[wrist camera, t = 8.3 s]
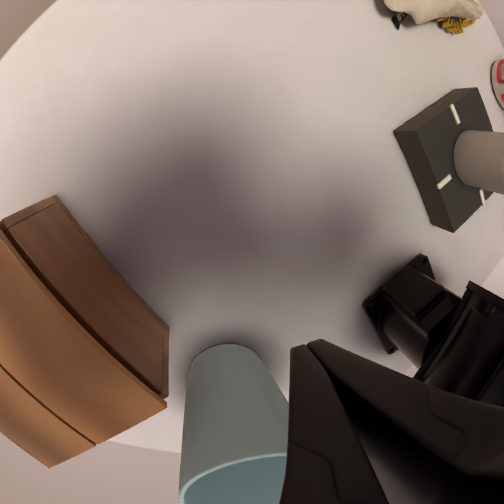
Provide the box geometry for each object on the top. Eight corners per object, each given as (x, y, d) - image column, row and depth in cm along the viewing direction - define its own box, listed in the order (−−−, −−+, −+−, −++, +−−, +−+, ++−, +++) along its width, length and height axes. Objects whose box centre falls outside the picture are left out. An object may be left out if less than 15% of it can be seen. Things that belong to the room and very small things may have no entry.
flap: (-3, 223, 10) (-8, 225, 9) (167, 402, 14) (167, 408, 13) (-52, 294, 10) (-56, 297, 9) (98, 439, 14) (97, 444, 13)
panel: (486, 174, 22) (508, 179, 19) (431, 226, 22) (454, 236, 20) (455, 87, 19) (479, 85, 16) (391, 130, 19) (416, 130, 16)
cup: (294, 379, 24) (347, 485, 14) (210, 422, 23) (231, 532, 14) (247, 310, 21) (299, 431, 11) (152, 363, 21) (146, 491, 11)
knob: (475, 121, 17) (527, 124, 13) (490, 168, 19) (538, 179, 14) (446, 145, 17) (501, 151, 13) (463, 195, 19) (514, 211, 14)
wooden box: (55, 194, 16) (-8, 223, 9) (169, 328, 20) (169, 407, 13) (-30, 295, 16) (-82, 347, 9) (69, 397, 20) (49, 468, 13)
